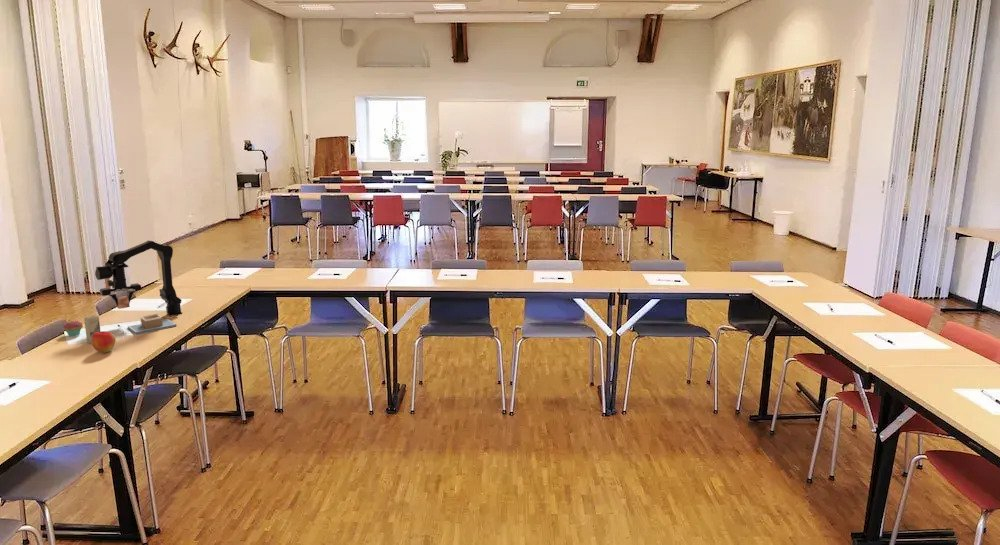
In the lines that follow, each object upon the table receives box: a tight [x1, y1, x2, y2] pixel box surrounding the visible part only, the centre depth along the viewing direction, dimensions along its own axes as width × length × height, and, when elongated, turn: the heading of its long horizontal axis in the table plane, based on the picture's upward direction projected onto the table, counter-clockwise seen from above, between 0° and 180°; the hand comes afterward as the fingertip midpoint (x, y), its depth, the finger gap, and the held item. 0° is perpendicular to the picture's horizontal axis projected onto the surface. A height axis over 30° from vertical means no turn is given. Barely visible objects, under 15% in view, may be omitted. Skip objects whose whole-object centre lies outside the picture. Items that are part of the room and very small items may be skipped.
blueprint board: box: [127, 313, 178, 335], centre depth 349 cm, size 20×14×6 cm
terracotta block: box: [116, 295, 130, 310], centre depth 351 cm, size 5×5×5 cm
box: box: [83, 315, 102, 344], centre depth 325 cm, size 5×4×13 cm
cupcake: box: [62, 313, 84, 337], centre depth 336 cm, size 9×8×12 cm
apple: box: [92, 330, 116, 354], centre depth 311 cm, size 10×10×10 cm
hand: (122, 305), depth 352 cm, fingers closed on terracotta block, 5 cm apart
